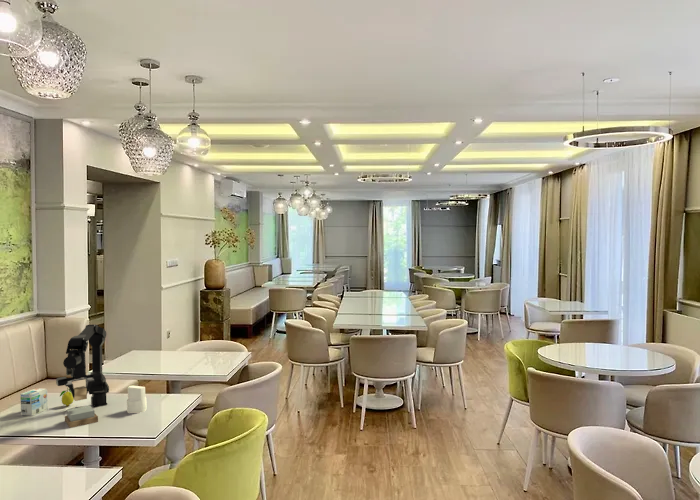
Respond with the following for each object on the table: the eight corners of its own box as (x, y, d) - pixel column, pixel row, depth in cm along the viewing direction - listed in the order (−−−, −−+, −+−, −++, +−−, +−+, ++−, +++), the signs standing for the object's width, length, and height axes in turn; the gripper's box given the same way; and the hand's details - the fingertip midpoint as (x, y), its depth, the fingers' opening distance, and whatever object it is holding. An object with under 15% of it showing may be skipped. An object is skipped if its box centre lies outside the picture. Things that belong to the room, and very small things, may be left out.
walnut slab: (92, 416, 254) (92, 410, 254) (98, 422, 245) (97, 416, 245) (64, 422, 247) (64, 416, 247) (69, 429, 238) (69, 422, 238)
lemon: (77, 405, 271) (76, 386, 271) (66, 408, 266) (65, 389, 266) (70, 403, 274) (69, 384, 274) (59, 406, 270) (58, 387, 269)
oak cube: (84, 396, 249) (84, 386, 249) (86, 398, 245) (86, 388, 245) (73, 398, 246) (72, 388, 246) (75, 400, 242) (74, 390, 242)
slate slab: (90, 411, 253) (90, 405, 253) (94, 416, 245) (94, 410, 245) (67, 416, 247) (67, 409, 247) (71, 421, 239) (70, 415, 239)
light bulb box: (31, 416, 256) (31, 394, 255) (20, 415, 257) (19, 393, 257) (48, 409, 266) (47, 388, 266) (37, 408, 267) (36, 387, 267)
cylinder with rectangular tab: (123, 412, 258) (122, 388, 257) (137, 407, 266) (136, 383, 266) (137, 414, 254) (136, 390, 254) (150, 408, 263) (149, 385, 262)
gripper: (96, 357, 258) (97, 388, 258) (53, 364, 246) (54, 396, 246) (101, 361, 249) (102, 393, 249) (57, 368, 237) (58, 402, 238)
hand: (79, 396), depth 246 cm, fingers closed on oak cube, 5 cm apart
